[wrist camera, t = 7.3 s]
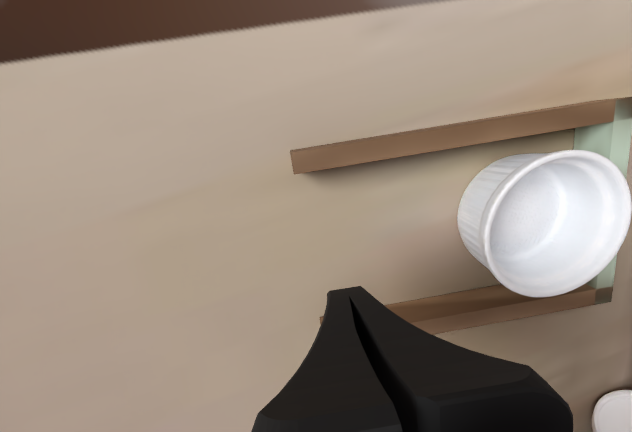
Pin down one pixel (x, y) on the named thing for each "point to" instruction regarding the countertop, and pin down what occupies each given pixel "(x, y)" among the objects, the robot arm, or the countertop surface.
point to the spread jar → (613, 412)
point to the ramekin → (546, 219)
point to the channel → (587, 118)
